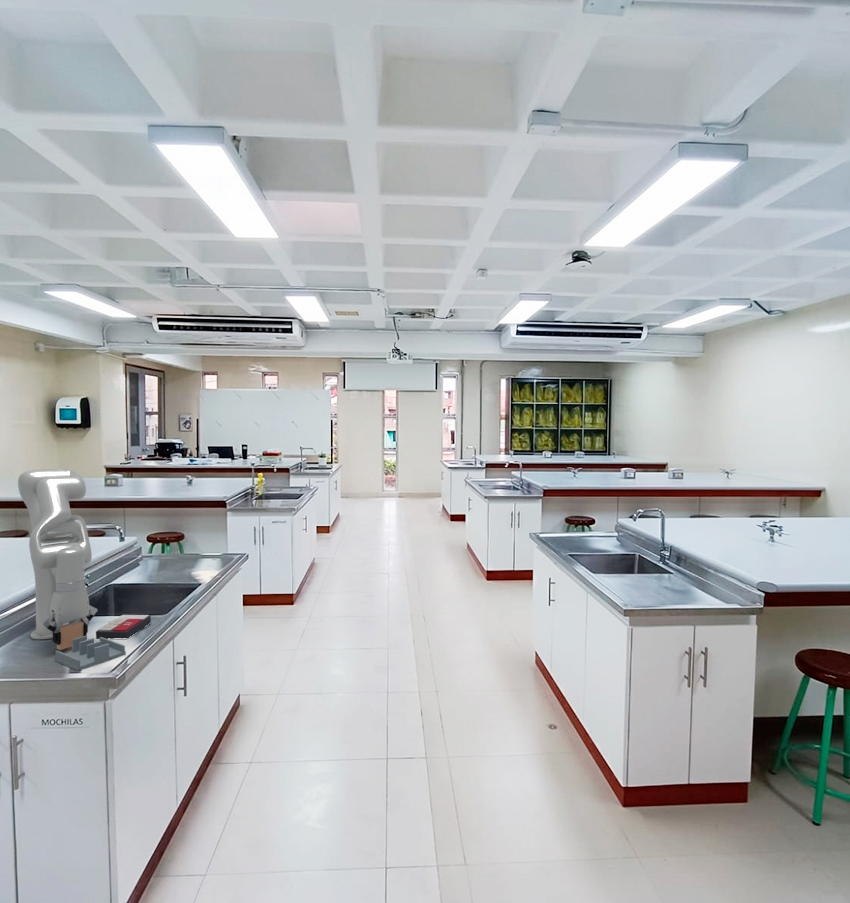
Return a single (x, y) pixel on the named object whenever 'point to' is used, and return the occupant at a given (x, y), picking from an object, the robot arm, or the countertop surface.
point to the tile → (70, 634)
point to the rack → (89, 653)
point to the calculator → (123, 626)
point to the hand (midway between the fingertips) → (70, 639)
